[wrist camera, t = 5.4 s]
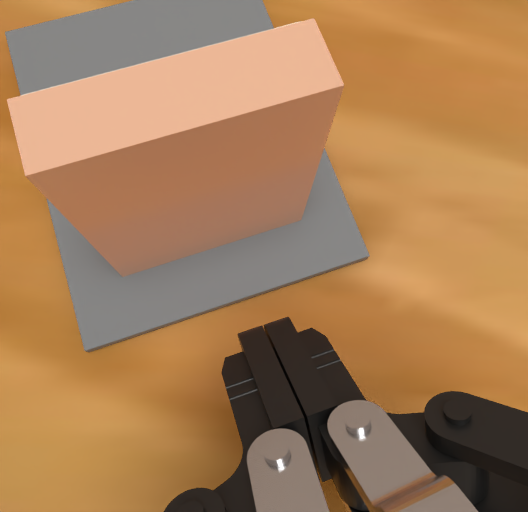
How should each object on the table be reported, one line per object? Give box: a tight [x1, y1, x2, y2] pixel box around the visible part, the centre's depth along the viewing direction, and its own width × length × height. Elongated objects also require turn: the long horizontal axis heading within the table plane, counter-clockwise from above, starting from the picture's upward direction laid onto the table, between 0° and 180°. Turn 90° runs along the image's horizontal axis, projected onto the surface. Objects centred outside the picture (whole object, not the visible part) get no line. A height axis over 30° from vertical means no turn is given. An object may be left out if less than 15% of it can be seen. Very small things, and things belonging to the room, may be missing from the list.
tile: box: [7, 18, 344, 277], centre depth 19 cm, size 3×9×11 cm, turn 109°
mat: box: [5, 0, 370, 352], centre depth 26 cm, size 18×14×1 cm
